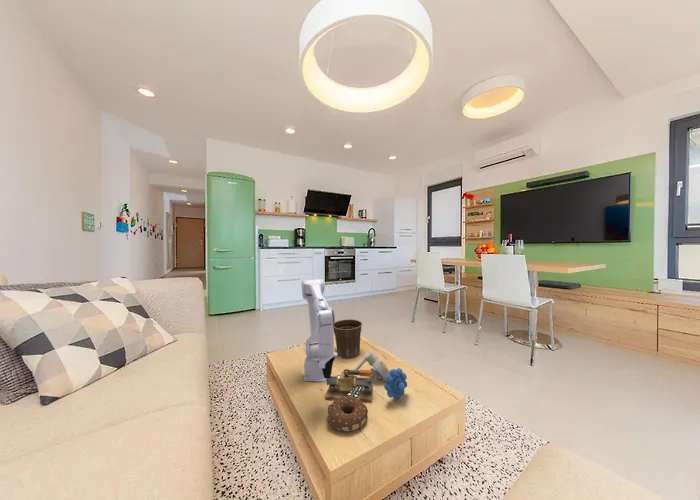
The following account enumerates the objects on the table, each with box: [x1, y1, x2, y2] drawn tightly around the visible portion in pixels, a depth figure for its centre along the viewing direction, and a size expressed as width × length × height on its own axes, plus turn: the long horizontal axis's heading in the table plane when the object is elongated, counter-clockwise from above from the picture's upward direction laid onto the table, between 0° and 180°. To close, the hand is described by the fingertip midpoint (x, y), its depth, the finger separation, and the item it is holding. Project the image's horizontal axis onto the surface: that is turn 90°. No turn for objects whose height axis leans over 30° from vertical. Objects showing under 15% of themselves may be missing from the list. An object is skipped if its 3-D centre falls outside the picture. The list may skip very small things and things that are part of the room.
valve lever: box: [343, 368, 373, 378], centre depth 100 cm, size 11×2×2 cm, turn 82°
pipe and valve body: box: [325, 371, 373, 394], centre depth 100 cm, size 18×5×6 cm, turn 82°
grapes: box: [383, 368, 408, 400], centre depth 95 cm, size 12×7×12 cm, turn 126°
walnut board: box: [324, 384, 374, 403], centre depth 100 cm, size 18×9×1 cm, turn 82°
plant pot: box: [333, 319, 363, 359], centre depth 136 cm, size 16×16×16 cm
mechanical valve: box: [353, 350, 392, 382], centre depth 109 cm, size 10×18×15 cm
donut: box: [326, 396, 369, 432], centre depth 86 cm, size 14×14×5 cm
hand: (327, 377), depth 94 cm, fingers closed
